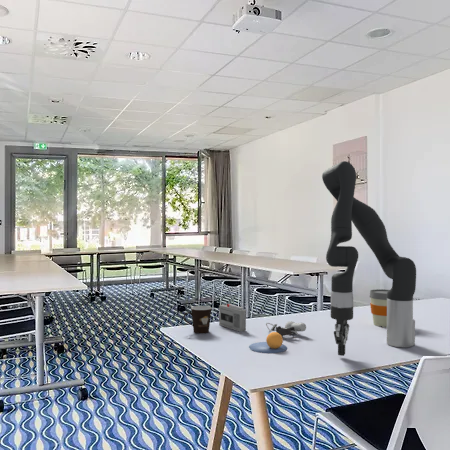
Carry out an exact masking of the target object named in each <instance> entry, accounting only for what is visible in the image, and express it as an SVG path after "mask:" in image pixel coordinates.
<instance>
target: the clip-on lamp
mask: <svg viewBox="0 0 450 450" xmlns="http://www.w3.org/2000/svg"><path fill="white" fill-rule="evenodd" d="M268 324H269V325H271V326H272V327H271V329H270V328H269V326H268ZM265 325H266V327H267V330H269V332H273V331H275V332H277V333H279V334H280V335H281V336H282V338H283V336H291V335H292V334H293V335H294V334H296V335H299V332H305V331H306V329H307V325H306V323H305V322H294V321H287V322H286V323H285V325H284V327H283V326H281V325H280V326H278V323H275V324H273V323H270V322H266V324H265ZM272 330H273V331H272Z"/></svg>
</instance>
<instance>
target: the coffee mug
mask: <svg viewBox="0 0 450 450" xmlns="http://www.w3.org/2000/svg"><path fill="white" fill-rule="evenodd" d="M188 314H189V315H191V320H192V323H191V322H189V321H188V320H187V319H186V316H187V315H188ZM211 316H212V307H211V306H207V305H195V306H191V307H190V311H187V312H184V314H183V318H182V319H183V320H184V322H185V323H187V324H189V325H190V326H192V329H193V333H195V334H208V333H209V331H210V326H211Z"/></svg>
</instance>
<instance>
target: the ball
mask: <svg viewBox="0 0 450 450" xmlns="http://www.w3.org/2000/svg"><path fill="white" fill-rule="evenodd" d="M265 342H267V345H268V346H269V347H270V348H272V349H277V348H279V347H280V346H281V345H282V344H283V342H284V340H283V337H282V336H281V335H280V334H279V333H277V332H276V331H271V332H270V333H269V334H267V336H266V340H265Z"/></svg>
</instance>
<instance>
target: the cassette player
mask: <svg viewBox="0 0 450 450" xmlns="http://www.w3.org/2000/svg"><path fill="white" fill-rule="evenodd" d="M218 309H219V310H218V311H219V312H218V317H219V318H218V323H219V326H222V327H225V328H228V329H231V330H234V331H237V332H239V331H240V333H243V332H247V310H246V309H243V306H237V305H235V304H231V303H227V304H219V305H218ZM242 331H243V332H242Z"/></svg>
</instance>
